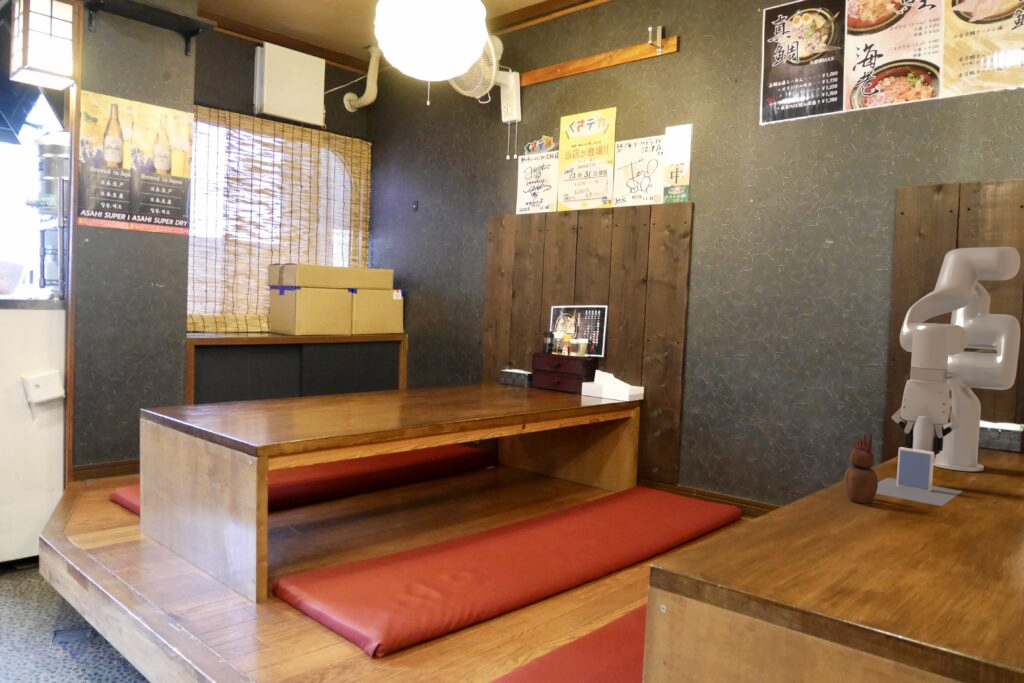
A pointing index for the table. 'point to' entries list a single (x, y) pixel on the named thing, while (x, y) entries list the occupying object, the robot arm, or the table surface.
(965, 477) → the table surface
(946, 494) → the mat
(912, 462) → the tile
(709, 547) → the table surface
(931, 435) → the beverage can
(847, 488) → the wooden figurine
